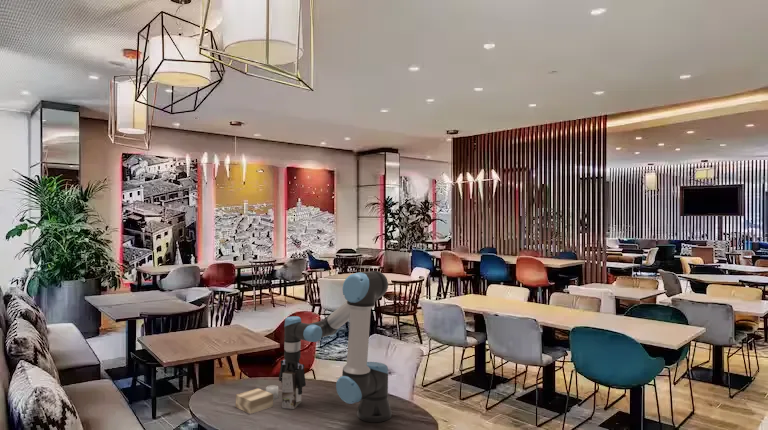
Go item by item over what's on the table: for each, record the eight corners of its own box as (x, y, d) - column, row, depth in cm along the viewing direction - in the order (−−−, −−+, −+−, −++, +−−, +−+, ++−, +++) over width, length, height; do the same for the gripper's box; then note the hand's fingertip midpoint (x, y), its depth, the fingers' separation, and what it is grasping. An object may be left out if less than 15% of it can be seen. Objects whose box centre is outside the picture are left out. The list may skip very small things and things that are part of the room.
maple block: (272, 407, 225) (273, 394, 225) (250, 414, 216) (250, 401, 216) (257, 400, 233) (257, 388, 233) (235, 407, 224) (235, 394, 224)
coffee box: (294, 409, 222) (294, 373, 222) (281, 408, 223) (281, 372, 223) (301, 402, 230) (302, 368, 231) (289, 401, 232) (289, 367, 232)
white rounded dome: (280, 397, 237) (281, 386, 237) (271, 400, 232) (271, 390, 232) (272, 394, 241) (272, 384, 241) (263, 397, 236) (263, 387, 236)
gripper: (314, 352, 224) (313, 401, 223) (283, 345, 236) (282, 391, 236) (302, 355, 218) (301, 406, 217) (271, 348, 230) (270, 396, 230)
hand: (291, 399), depth 227 cm, fingers closed on coffee box, 8 cm apart
